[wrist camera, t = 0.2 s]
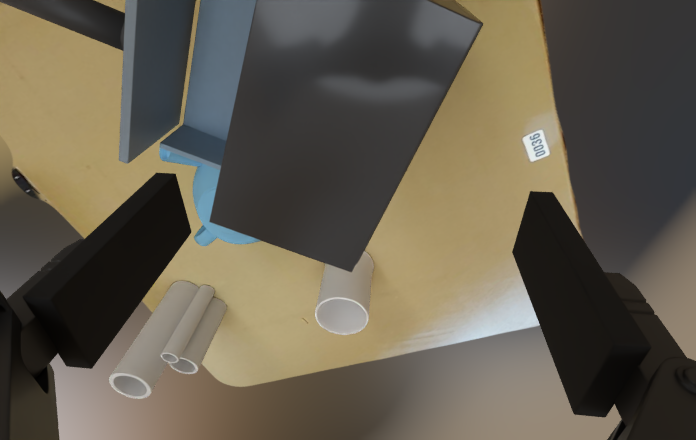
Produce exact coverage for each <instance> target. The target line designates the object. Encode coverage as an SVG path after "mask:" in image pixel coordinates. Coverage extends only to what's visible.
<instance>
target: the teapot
mask: <svg viewBox="0 0 696 440" xmlns="http://www.w3.org/2000/svg"><path fill="white" fill-rule="evenodd" d="M159 154H160V158H161V159H162V160H163V161H167V162H173V163H179V164H186V165H192V166H198V168H197V170H196V173H195V176H194V181H193V198H194V203H195V207H196V210H197V214H198V216H199V218H200V220H201V222H202V224H203V226H202V227H201V228H200V229H199V231H198V232H197V233H196V235H195V237H194V239H195V241H196V242H197V243H198V244H199V245H201V246H207V245H209V244H210V243H211V242H213V241H214V240H215V239H216V238H219V239H221V240H223V241H225V242H229V243H233V244H249V243H254V242H258V241H261V240H258V239H256V238H253V237H250V236H247V235H244V234H242V233H239V232H236V231H233V230H230V229H227V228H225V227H222V226H219V225H216V224H213V223H211V222H209V220H210V216H211V211H212V206H213V202H214V197H215V192H216V188H217V183H218V178H219V173H220V170H218V169H216V168H213V167H210V166H207V165H205V164H202V163H199V162H197V161H194V160H191V159H189V158H186V157H183V156H181V155H178V154H175V153H173V152H170V151H167V150H165V149H162V148H160V151H159Z"/></svg>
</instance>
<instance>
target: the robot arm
mask: <svg viewBox="0 0 696 440" xmlns="http://www.w3.org/2000/svg"><path fill="white" fill-rule="evenodd" d="M190 234H191V229H190V225H189V221H188V218H187V214H186V210H185V207H184V203H183V199H182V196H181V192H180V188H179V185H178V181H177V177H176V174H169V173H156V174H155V175H154V176H153V177H151V178H150V179H149V180H148V181H147V182H146V183H145V184H144V185H143V186H142V187H141V188H140V189H138V190H137V191H136V192H135V193H134V194H133V195H132V196H131V197H130V198H129V199H128V200H127V201H125V202H124V203H123V204H122V205H121V206H120V207H119V208H118V209H117V210H116V211H115V212H114V213H112V214H111V215H110V216H109V217H108V218H107V219H106V220H105V221H104V222H103V223H102V224H100V225H99V226H98V227H97V228H96V229H95V230H94V231H93V232H92V233H91V234H90V235H89V236H87V237H86V238H85V239H80V240H78V241H76V242H75V243H73V244H71V245H69V246H67V247H66V248H64V249H63V250H61V251H60V252H59V253H58V254H57V255H56V256H55V257H54V258H53V259H52V260H51V262H48V263H47V264H46V265H45V266H44V267H42V268H41V271H38V272H37V273H36V274H35V275H34V276H32V277H31V278H30V279H29V280H28V281H27V282H26V283H25V284H23V285H22V286H21V287H20V288H19V289H18V290H17V291H16V292H14V293H13V294H12V295H11V296H10V297H9V298H8V299H7V300H6V298H5V297H4V295H3V294H2V293H1V291H0V440H59V430H58V418H57V406H56V393H55V381H54V371H53V369H52V367H51V365H50V364H49V363H50V362H51V360H52V359H53V358H54V357H55V356H56V355H57V353H58V354H59V355H60V357H61V358H62V360H63V361H64V363H65V365H66V366H70V367H80V368H90V369H91V368H93V366H94V365H95V363H96V362H97V361H98V359H99V358H100V357H101V355H102V354H103V353H104V351H105V350H106V348H107V347H108V346H109V344H110V343H111V342H112V340H113V339H114V338H115V336H116V335H117V333H118V332H119V331H120V329H121V328H122V326H123V325H124V324H125V322H126V321H127V320H128V318H129V317H130V316H131V314H132V313H133V312H134V310H135V309H136V307H137V306H138V305H139V303H140V302H141V301H142V299H143V298H144V297H145V295H146V294H147V292H148V291H149V290H150V288H151V287H152V286H153V284H154V283H155V281H156V280H157V279H158V277H159V276H160V275H161V273H162V272H163V271H164V269H165V268H166V266H167V265H168V264H169V262H170V261H171V260H172V258H173V257H174V256H175V254H176V253H177V251H178V250H179V249H180V247H181V246H182V245H183V243H184V242H185V240H186V239H187V238H188V236H189V235H190ZM512 253H513V255H514V258H515V261H516V263H517V266H518V268H519V271H520V274H521V276H522V279H523V282H524V284H525V287H526V289H527V292H528V295H529V297H530V300H531V303H532V305H533V308H534V311H535V313H536V316H537V318H538V321H539V324H540V326H541V329H542V332H543V334H544V337H545V339H546V342H547V345H548V347H549V350H550V353H551V355H552V358H553V360H554V363H555V366H556V368H557V371H558V374H559V376H560V379H561V382H562V384H563V387H564V389H565V392H566V394H567V397H568V400H569V403H570V405H571V408H572V411H573V413H574V414H575V415H586V416H596V417H606V416H607V414H608V413H609V411H610V410H611V408H612V407H613V405H614V404H615V405H616V408H617V410H618V412H619V414H620V416H621V418H622V420H621V421H620V423H619V424H618V426H617V427H616V428H615V430H614V431H613V432H612V434H611V435H610V437H609V438H608V439H607V440H696V361H694V360H692V359H689V358H687V357H686V356H685V355H684V353H683V351H682V350H681V349H680V347H679V346H678V344H677V343H676V342H675V340H674V339H673V337H672V336H671V335H670V333H669V332H668V330H667V329H666V327H665V326H664V325H663V323H662V322H661V321H660V319H659V318H658V316H657V315H655V314H654V311H653V309H652V308H651V306H650V305H649V304H648V303H646V299H645V298H644V297H643V295H642V294H641V292H640V291H639V289H638V288H637V287H636V286H635V285H634V284H632V283H631V282H630V281H629V280H628V279H626V278H625V277H624V276H622V275H621V274H620V273H605V272H603V270H602V268H601V267H600V266H599V264H598V262H597V261H596V259H595V258H594V256H593V254H592V253H591V251H590V250H589V248H588V247H587V245H586V243H585V242H584V240H583V239H582V237H581V236H580V234H579V233H578V231H577V229H576V228H575V226H574V225H573V223H572V222H571V220H570V219H569V217H568V215H567V214H566V212H565V211H564V209H563V208H562V206H561V204H560V203H559V201H558V200H557V198H556V197H555V195H554V194H553V192H533V191H530V194H529V198H528V201H527V204H526V208H525V211H524V214H523V218H522V221H521V225H520V228H519V231H518V235H517V238H516V242H515V245H514V248H513V252H512Z"/></svg>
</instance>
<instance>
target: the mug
mask: <svg viewBox="0 0 696 440" xmlns="http://www.w3.org/2000/svg"><path fill="white" fill-rule="evenodd" d="M373 270H374V263H373V260H372V258H371V257H370V255H369V254H368V253H367V252H365V251H364V252H363V254H362V256H361V258H360V260H359V262H358V263H357V264H356V265H355V267H354V269H353V271H352V272H348V271H346V270H343V269H340V268H337V267H334V266H332V265H329V264H326V263H325V269H324V274H323V278H322V283H321V287H320V292H319V296H318V301H317V305H316V310H315V318H316V320H317V322H318V323H319V325H320V326H321V327H323V328H324V329H325V330H327V331H329V332H332V333H335V334H340V335H350V334H354V333H357V332H359V331H361V330H362V329H364V328H365V326H366V325H367V323H368V319H369V306H370V293H371V279H372V273H373Z"/></svg>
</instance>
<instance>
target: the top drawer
mask: <svg viewBox="0 0 696 440" xmlns="http://www.w3.org/2000/svg"><path fill="white" fill-rule="evenodd" d="M195 1H196V0H126V4H125V13H123V12H121V11H118V10H116V9H113V8H111V7H108V6H106V5H104V4H101V3H99V2H96V1H94V0H0V2H2V3H4V4H7V5H10V6H12V7H15V8H17V9H20V10H22V11H25V12H27V13H30V14H32V15H35V16H37V17H40V18H42V19H45V20H47V21H50V22H52V23H55V24H57V25H60V26H62V27H65V28H67V29H70V30H72V31H75V32H77V33H80V34H82V35H85V36H87V37H90V38H92V39H95V40H97V41H100V42H103V43H105V44H108V45H110V46H113V47H115V48H118V49H120V50H123V75H122V99H121V122H120V146H119V161H122V162H124V163H127V164H128V163H129V162H131V161H132V160H133V159H135V158H136V157H137V156H138V155H140V154H141V153H142V152H143V151H145V150H146V149H147V148H149V147H150V146H151V145H152V144H154V143H155V142H156V141H157V140H159V139H160V138H161V137H163V136H164V135H165V134H166V133H168V132H169V131H170V130H171V129H173V128H174V127H175V126H177V125H178V124H179V121H180V113H181V106H182V98H183V91H184V83H185V76H186V68H187V61H188V53H189V46H190V38H191V31H192V23H193V16H194V8H195ZM255 4H256V0H201V1H200V8H199V15H198V23H197V30H196V37H195V44H194V51H193V58H192V65H191V73H190V80H189V87H188V94H187V101H186V108H185V115H184V123H183V125H182V126H181V127H179V128H178V129H177V130H176V131H174V132H173V133H172V134H171V135H169V136H168V137H167V138H166V139H164V140H163V141H162V142H161V143H160V148H162V149H165V150H167V151H170V152H173V153H175V154H178V155H181V156H183V157H186V158H189V159H191V160H194V161H197V162H199V163H202V164H205V165H207V166H210V167H213V168H216V169H218V170H220V169H221V164H222V159H223V155H224V150H225V145H226V141H227V136H228V131H229V126H230V122H231V117H232V112H233V108H234V103H235V98H236V93H237V89H238V84H239V79H240V75H241V70H242V65H243V61H244V56H245V51H246V46H247V42H248V37H249V32H250V28H251V23H252V18H253V14H254V9H255Z"/></svg>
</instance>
